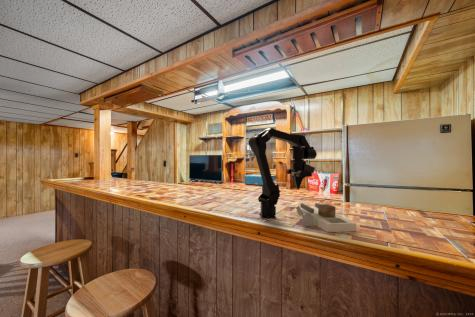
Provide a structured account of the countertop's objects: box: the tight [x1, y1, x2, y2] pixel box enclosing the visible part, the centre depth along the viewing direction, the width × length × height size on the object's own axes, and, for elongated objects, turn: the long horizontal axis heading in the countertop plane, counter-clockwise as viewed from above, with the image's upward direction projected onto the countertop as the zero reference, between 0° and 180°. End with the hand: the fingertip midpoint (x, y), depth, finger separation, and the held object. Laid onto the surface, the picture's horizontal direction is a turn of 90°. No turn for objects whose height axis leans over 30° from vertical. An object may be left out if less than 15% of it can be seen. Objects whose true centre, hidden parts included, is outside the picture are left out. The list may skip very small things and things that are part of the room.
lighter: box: [295, 204, 314, 227], centre depth 86 cm, size 7×2×8 cm, turn 68°
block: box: [318, 203, 337, 218], centre depth 89 cm, size 5×5×4 cm
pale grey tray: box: [296, 202, 357, 233], centre depth 92 cm, size 12×28×5 cm, turn 7°
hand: (298, 189), depth 106 cm, fingers closed
